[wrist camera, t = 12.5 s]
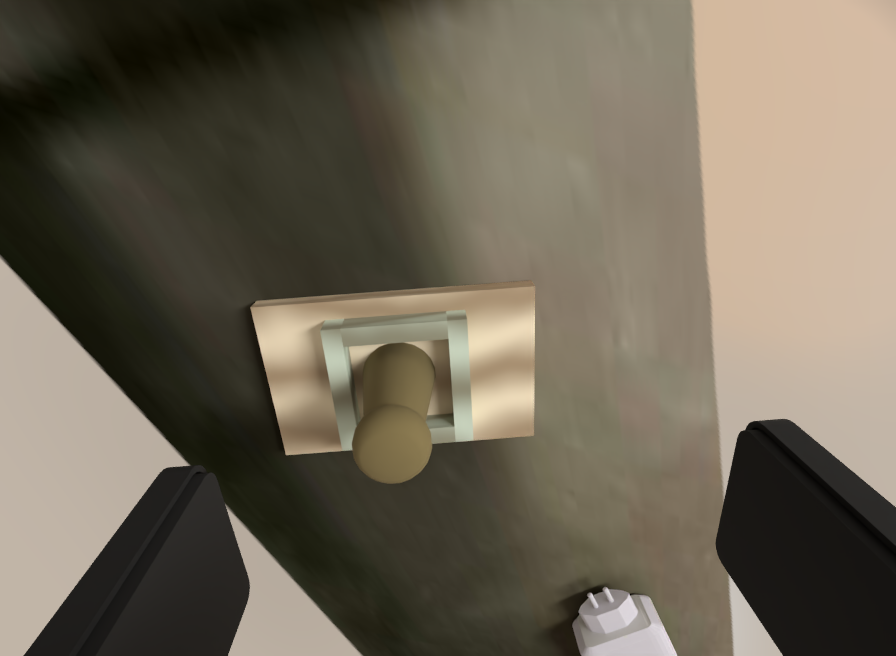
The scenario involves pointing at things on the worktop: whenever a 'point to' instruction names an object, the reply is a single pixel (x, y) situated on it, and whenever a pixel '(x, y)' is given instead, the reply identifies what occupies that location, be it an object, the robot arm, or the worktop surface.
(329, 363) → the socket board
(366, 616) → the worktop surface
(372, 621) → the worktop surface
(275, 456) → the worktop surface
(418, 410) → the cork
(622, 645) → the charger
